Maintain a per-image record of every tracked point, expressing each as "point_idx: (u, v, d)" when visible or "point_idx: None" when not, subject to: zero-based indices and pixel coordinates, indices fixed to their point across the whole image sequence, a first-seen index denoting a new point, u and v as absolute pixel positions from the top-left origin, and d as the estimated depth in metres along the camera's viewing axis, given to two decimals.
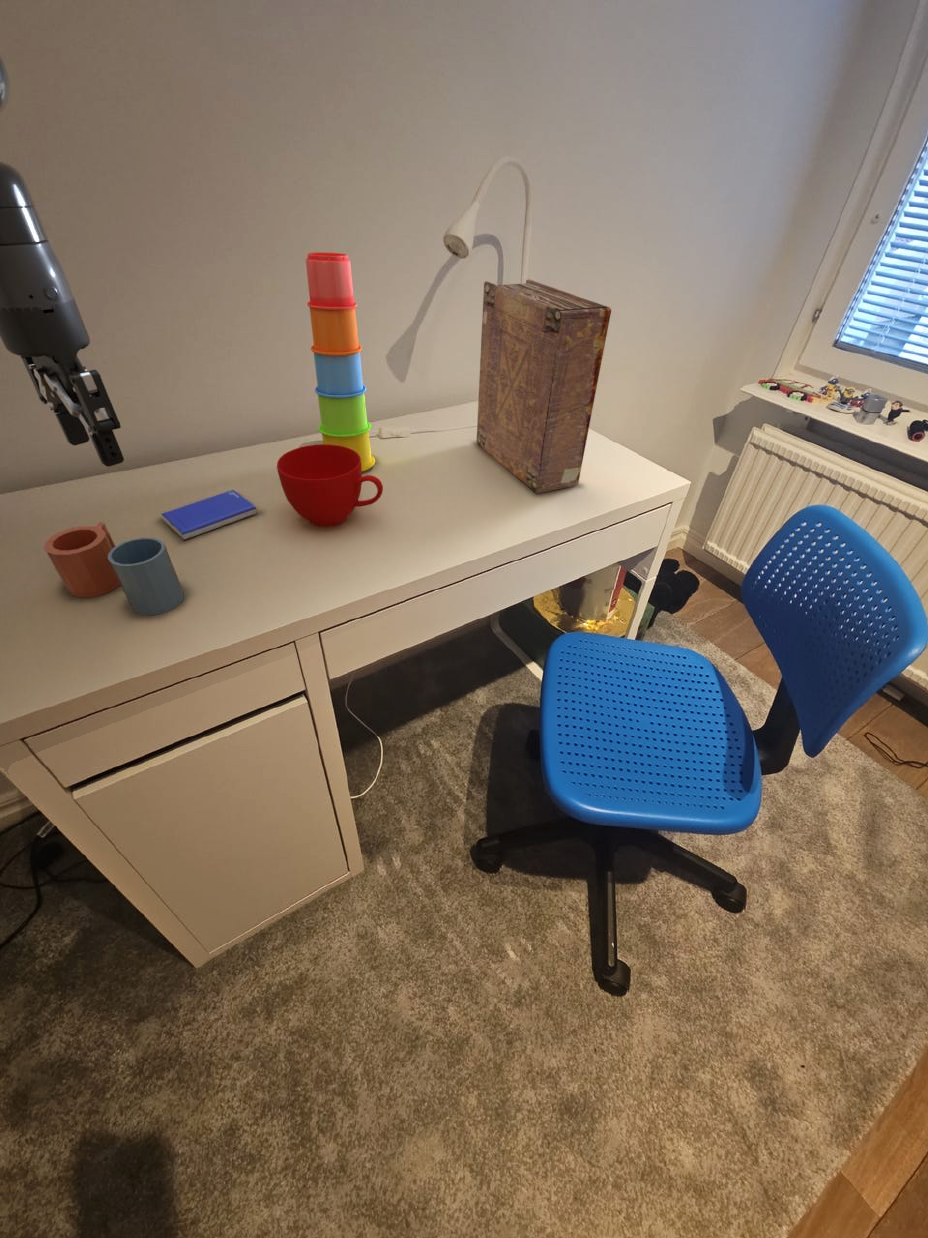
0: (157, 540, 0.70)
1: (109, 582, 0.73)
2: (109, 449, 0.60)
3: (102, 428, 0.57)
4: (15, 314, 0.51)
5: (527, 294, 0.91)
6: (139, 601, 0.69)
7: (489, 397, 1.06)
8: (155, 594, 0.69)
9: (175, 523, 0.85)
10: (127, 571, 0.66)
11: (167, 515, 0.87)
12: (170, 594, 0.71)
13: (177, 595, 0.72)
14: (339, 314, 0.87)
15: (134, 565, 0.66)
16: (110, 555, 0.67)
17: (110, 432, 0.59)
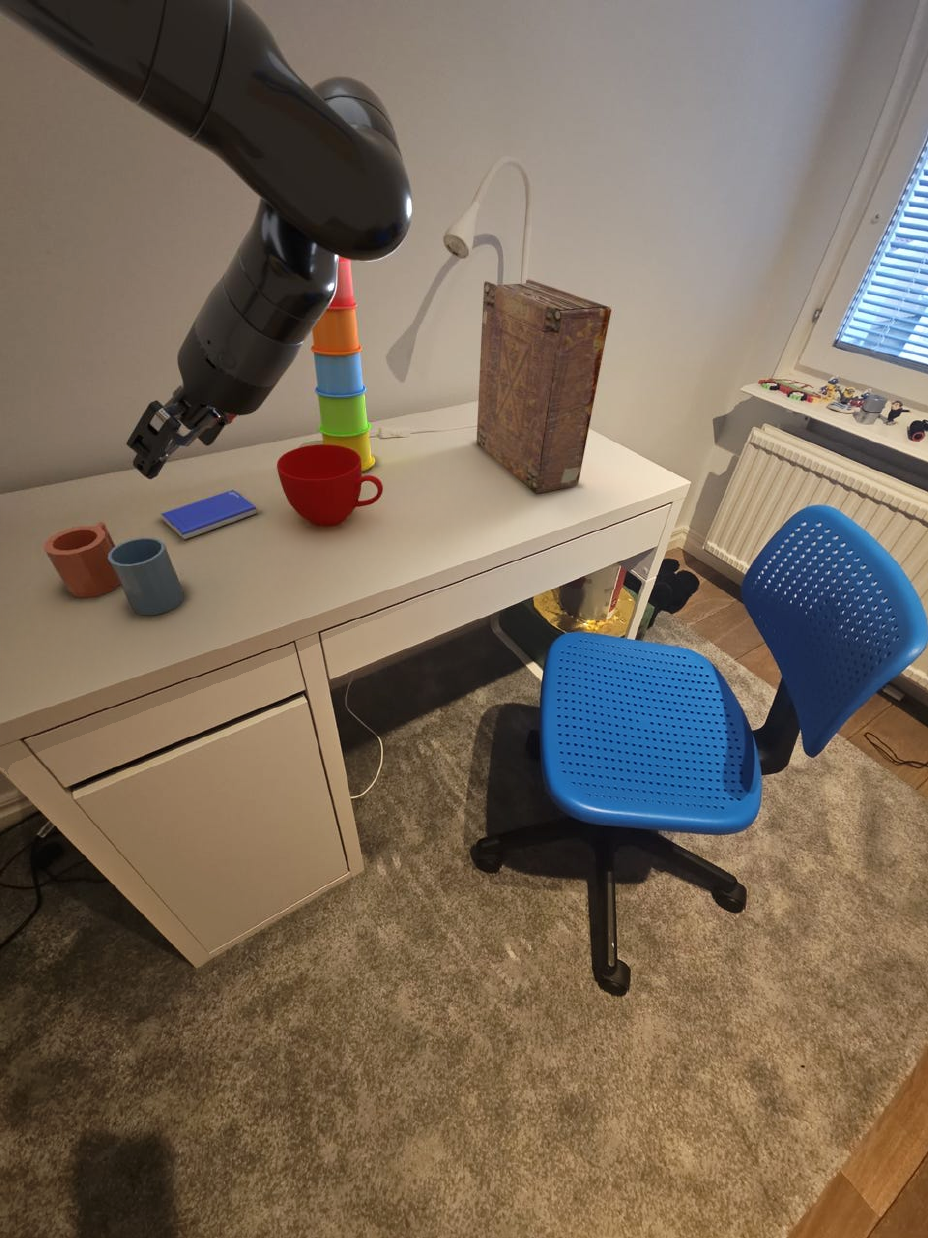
0: (157, 540, 0.70)
1: (109, 582, 0.73)
2: (141, 461, 0.50)
3: (132, 447, 0.47)
4: (192, 334, 0.43)
5: (527, 294, 0.91)
6: (139, 601, 0.69)
7: (489, 397, 1.06)
8: (155, 594, 0.69)
9: (175, 523, 0.85)
10: (127, 571, 0.66)
11: (167, 515, 0.87)
12: (170, 594, 0.71)
13: (177, 595, 0.72)
14: (339, 314, 0.87)
15: (134, 565, 0.66)
16: (110, 555, 0.67)
17: None
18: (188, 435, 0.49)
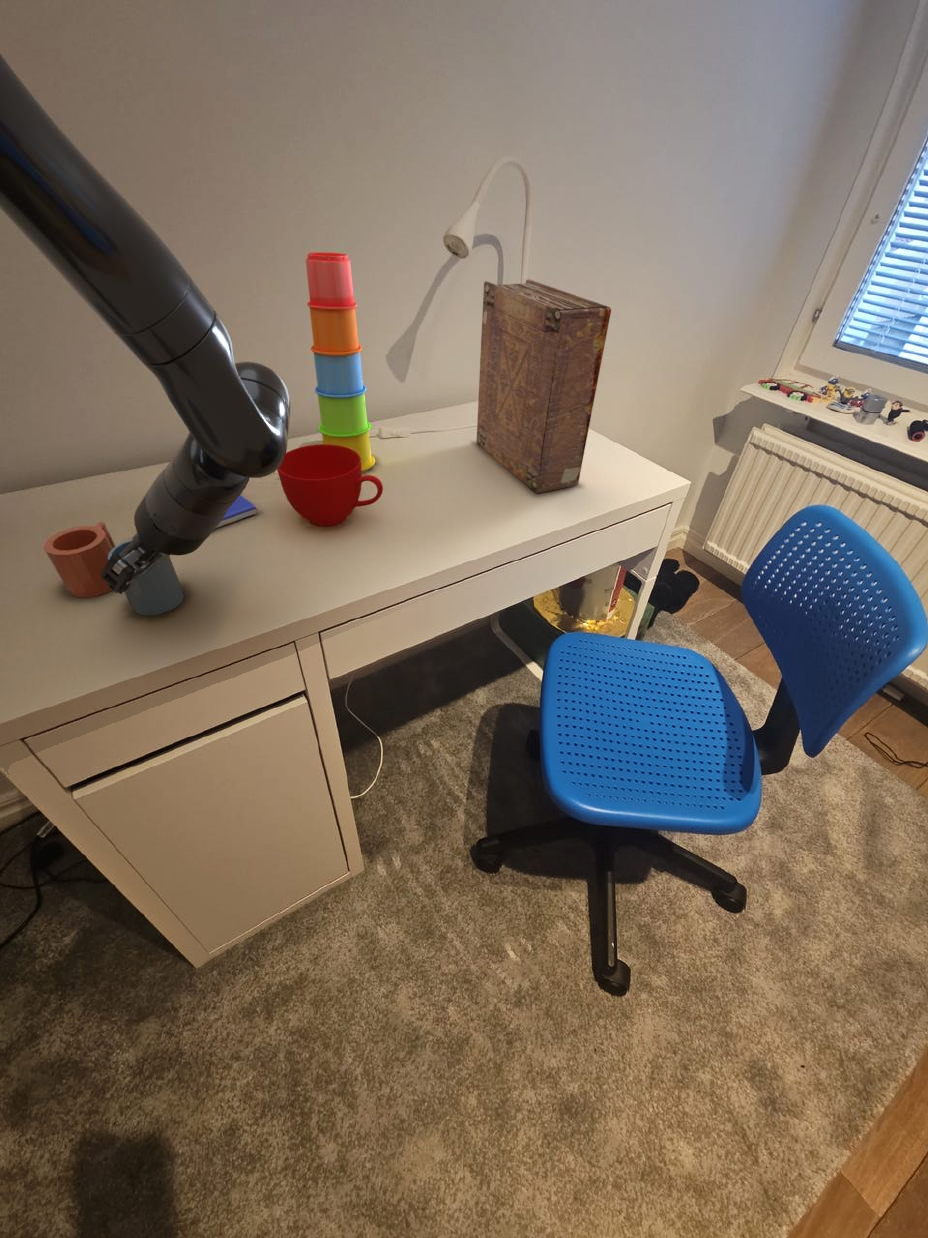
0: None
1: None
2: None
3: (104, 579, 0.63)
4: (143, 506, 0.58)
5: (527, 294, 0.91)
6: (139, 601, 0.69)
7: (489, 397, 1.06)
8: (155, 594, 0.69)
9: None
10: None
11: None
12: (170, 594, 0.71)
13: (177, 595, 0.72)
14: (339, 314, 0.87)
15: None
16: (110, 555, 0.67)
17: None
18: (145, 568, 0.64)
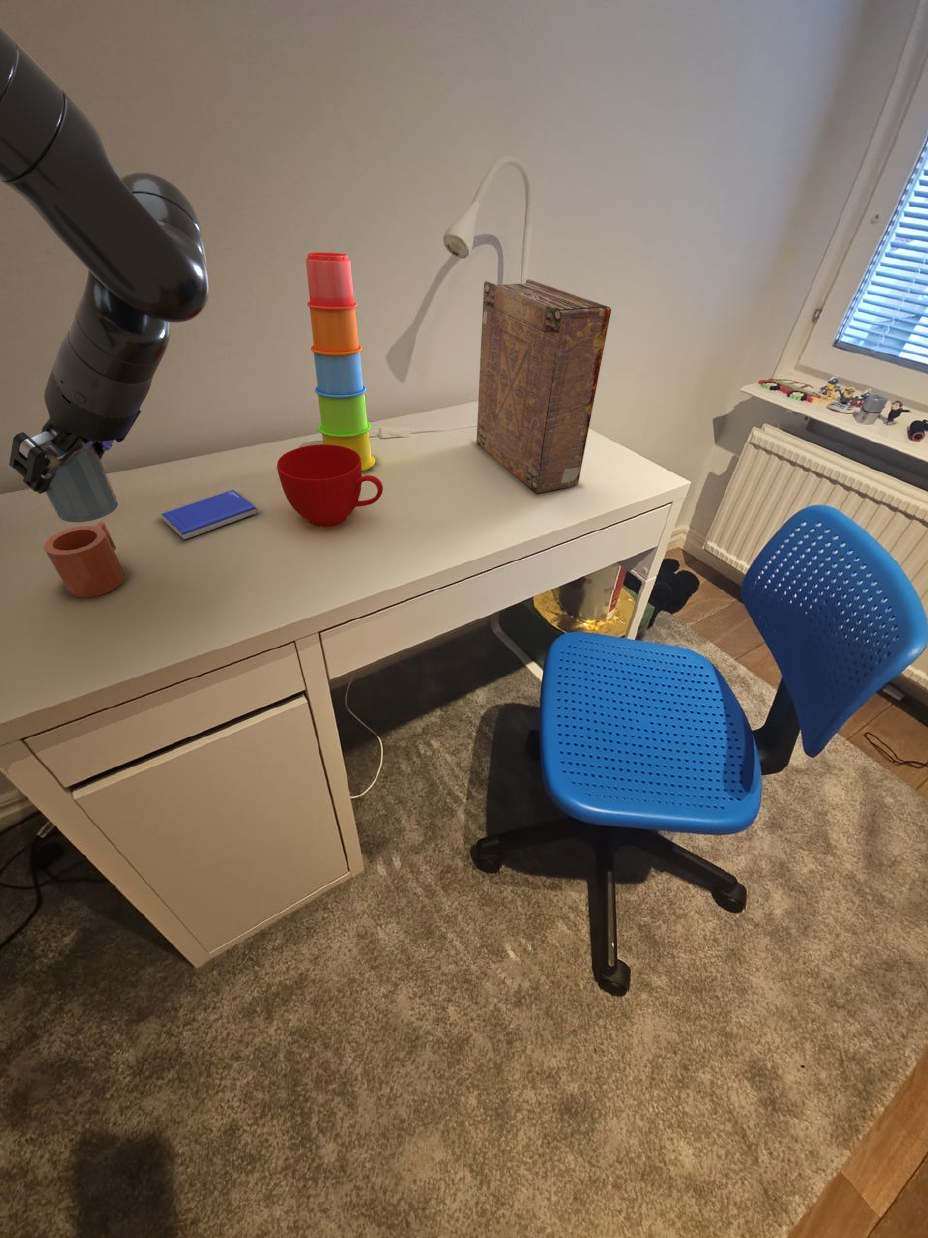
0: None
1: (109, 582, 0.73)
2: None
3: (14, 468, 0.55)
4: (51, 374, 0.51)
5: (527, 294, 0.91)
6: (63, 504, 0.62)
7: (489, 397, 1.06)
8: (81, 496, 0.62)
9: (175, 523, 0.85)
10: None
11: (167, 515, 0.87)
12: (99, 498, 0.63)
13: (108, 502, 0.65)
14: (339, 314, 0.87)
15: None
16: None
17: None
18: (63, 458, 0.57)
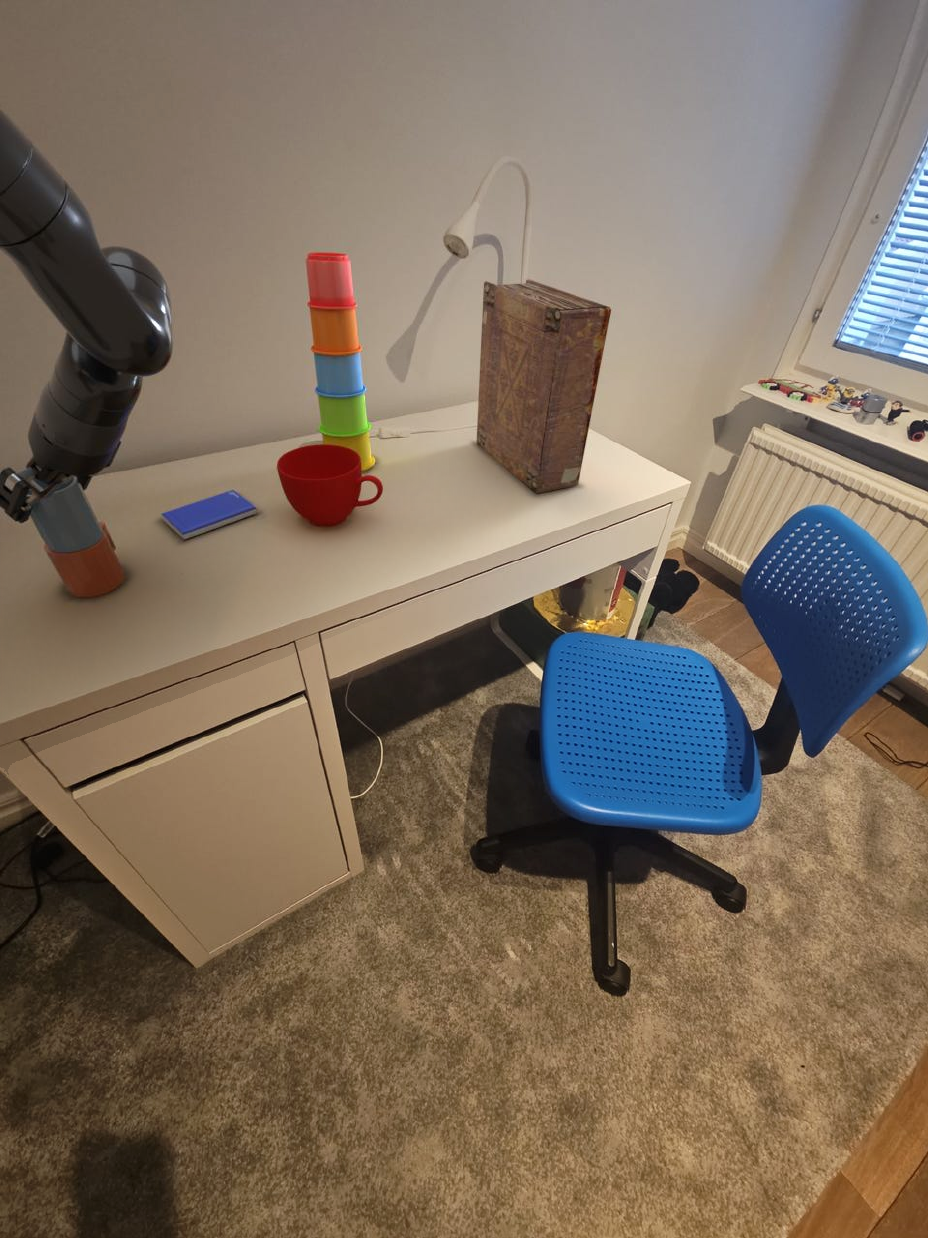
0: None
1: (109, 582, 0.73)
2: None
3: None
4: (34, 417, 0.55)
5: (527, 294, 0.91)
6: (51, 536, 0.67)
7: (489, 397, 1.06)
8: (68, 529, 0.67)
9: (175, 523, 0.85)
10: None
11: (167, 515, 0.87)
12: (85, 530, 0.69)
13: (94, 533, 0.70)
14: (339, 314, 0.87)
15: None
16: None
17: None
18: (45, 490, 0.61)
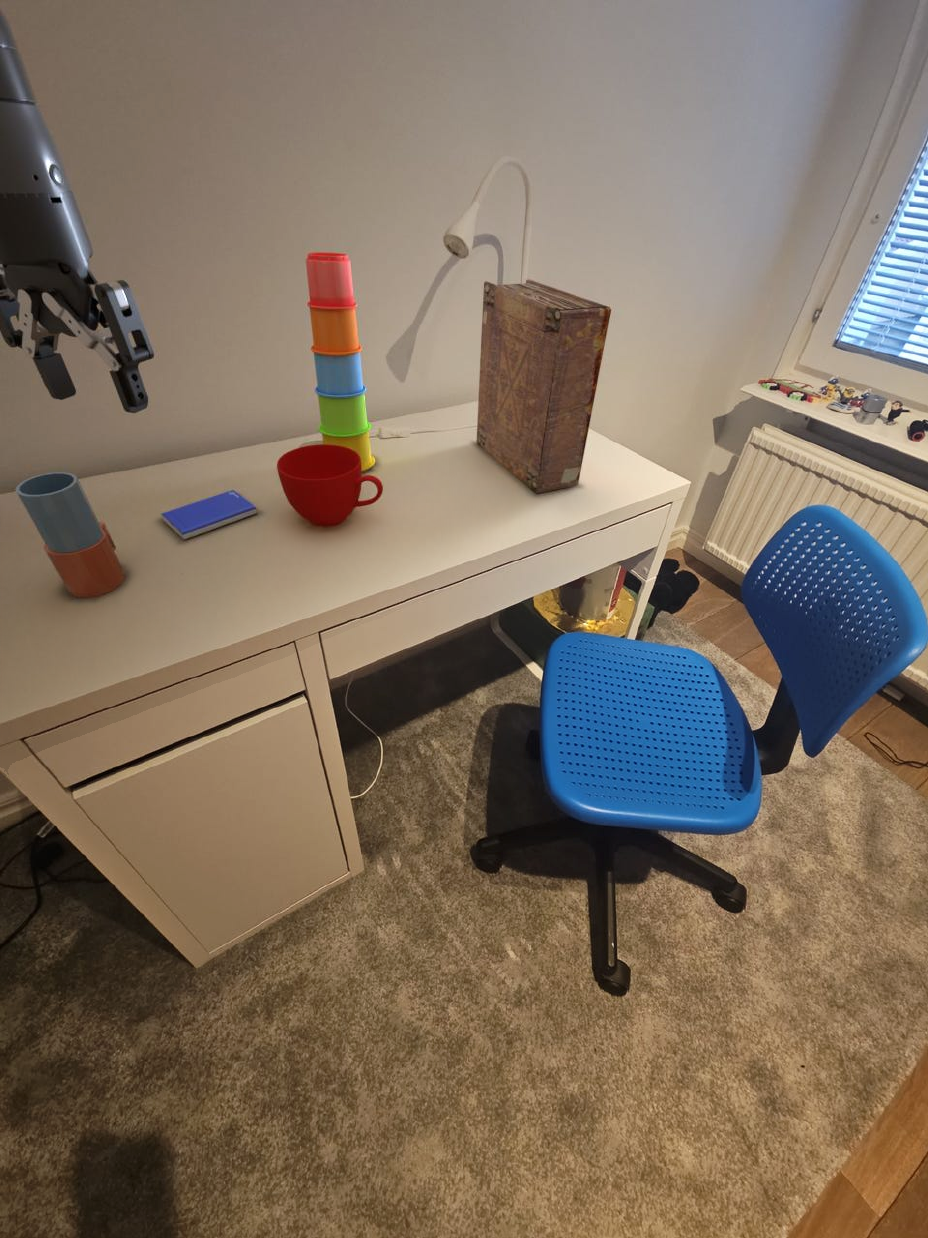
0: (71, 475, 0.68)
1: (109, 582, 0.73)
2: (136, 389, 0.48)
3: (137, 357, 0.46)
4: (15, 202, 0.39)
5: (527, 294, 0.91)
6: (51, 536, 0.67)
7: (489, 397, 1.06)
8: (68, 529, 0.67)
9: (175, 523, 0.85)
10: (34, 502, 0.64)
11: (167, 515, 0.87)
12: (85, 530, 0.69)
13: (94, 533, 0.70)
14: (339, 314, 0.87)
15: (41, 496, 0.64)
16: (18, 487, 0.65)
17: (137, 366, 0.48)
18: None
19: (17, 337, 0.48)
